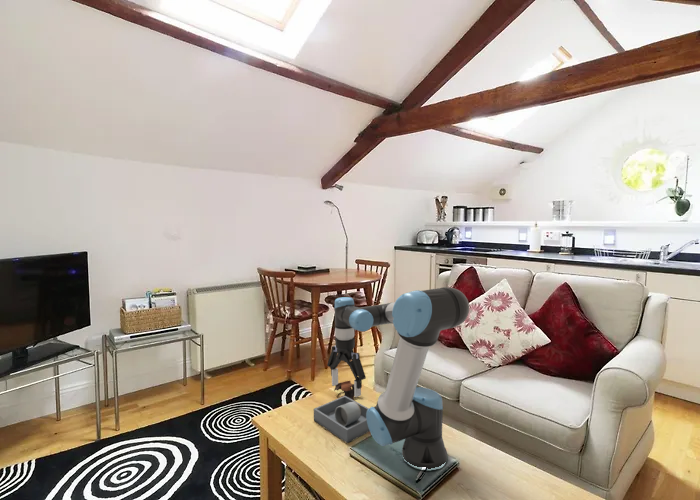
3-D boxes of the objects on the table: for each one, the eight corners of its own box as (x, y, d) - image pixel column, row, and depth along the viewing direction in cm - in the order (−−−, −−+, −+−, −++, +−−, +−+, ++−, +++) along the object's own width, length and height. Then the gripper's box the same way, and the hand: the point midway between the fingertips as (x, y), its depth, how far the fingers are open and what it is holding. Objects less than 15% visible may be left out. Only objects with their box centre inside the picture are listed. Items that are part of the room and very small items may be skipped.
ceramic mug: (362, 421, 151) (362, 402, 150) (347, 429, 145) (347, 410, 145) (344, 412, 159) (343, 394, 158) (329, 419, 153) (329, 401, 152)
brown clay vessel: (335, 403, 169) (331, 384, 172) (338, 403, 178) (335, 385, 181) (361, 396, 168) (357, 377, 172) (363, 396, 177) (359, 378, 180)
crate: (379, 426, 150) (379, 414, 149) (347, 443, 139) (347, 430, 138) (345, 406, 165) (344, 395, 165) (313, 420, 154) (313, 408, 154)
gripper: (374, 342, 142) (375, 397, 143) (332, 329, 160) (333, 378, 162) (359, 347, 137) (360, 404, 138) (318, 332, 156) (319, 383, 157)
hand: (346, 390), depth 150 cm, fingers open, 13 cm apart
